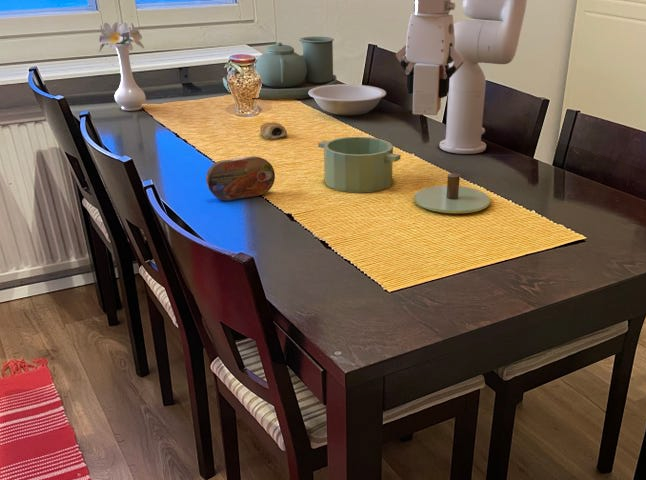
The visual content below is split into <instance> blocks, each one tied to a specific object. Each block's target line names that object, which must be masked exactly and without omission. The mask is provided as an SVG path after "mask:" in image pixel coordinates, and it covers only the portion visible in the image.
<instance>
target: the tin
mask: <svg viewBox="0 0 646 480" xmlns="http://www.w3.org/2000/svg"><path fill="white" fill-rule="evenodd" d="M205 176H206V177H205V182H206V186H207V188H208V190H209V191H210V193H211V194H212V195H213V196H214V198H217V199H219V200H221V201H226V202H227V201H235V200H239V199H247V198H253V197H259V196H263V195H265V194H267V193H268V192H269V191H270V190H271V189H272V187H273V185H274V184H275V180H276V173H275V169H274V167H273V165H272V163H270V161H268V160H267V159H266V158H263V157H260V156H255V155H254V156H246V157H238V158H231V159H224V160H218V161H216V162H215V163H213V164H212V165H211V166H210V167H209V169H208V170H207V172H206V175H205Z"/></svg>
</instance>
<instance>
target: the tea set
mask: <svg viewBox="0 0 646 480" xmlns="http://www.w3.org/2000/svg"><path fill="white" fill-rule="evenodd" d="M298 40H299V42H300V43H301V46H302V54H299V53H297V52H295V48H294V47H293V46H291V45H289V44H288V45H287V44H283V43H282V42H281V41H278V42H277V43H276V44H272V45H268V46H267V47H266V48H265V52H263V53H262V54H261V55H259V56H258V57H259V58H258V59H257V60H256V62H255V68H256V70H257V72H258V73H259V75H260V76H261V79H262V87H261V90H260V93H259V97H258V100H270V101H282V100H283V101H285V100H303V99H310V98H312V97H311V96H310V95H309V94H308V92H309V90H311V89H313V88H316V87H320V86H326V85H337V84H338V79H337V75H336V74H334V51H333V50H334V49H333V48H334V47H333V46H334V45H333V43H334V41H335V39H334V38H333V37H329V36H305V37H298ZM226 64H227V63H225V64H224V67H226ZM222 84H223V85H224V88H225V89H226V90H227V92H228V93H230V91H229V89H228V86H227V80H226V76H224V77H223V78H222ZM230 94H231V93H230Z"/></svg>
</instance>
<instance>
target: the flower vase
mask: <svg viewBox="0 0 646 480" xmlns="http://www.w3.org/2000/svg"><path fill="white" fill-rule="evenodd" d="M99 27H100V34H99V35H98V36H97V37H98V41H99V43H100V45H99V53H100V52H101V51H102V49H103V48H104V46H105V45H106V46H108V45H109V50H110V51H114V50H116V53H117V56H118V60H119V66H120V76H121V77H120V83H119V87H118V88H117V89H116V91H115V94H114V101H115V102H116V104H117V105H119V106H120V107H121V110H122V111H126V112H127V111H129V112H134V111H139V110H142V108H143V106H142V105H144V104H145V102H146V100H147V96H146V93H145V92H144V90H143V89H141V87H139V86H138V84H137V83H136V81H135V78H134V75H133V71H132V68H131V60H130V51H132V50H133V49H134V47H133V44H132V43H134V44H135V45H136V46H139V47H140V48H142V49H145V46H144V44H143V43H142V42H141V40H142V39H143V36H142V34H141V32H140V31H139V30H138V29H136V28H135V25H134V23H133V22H131V23H130V26H129V25H128V24H127V23H126V22H122V24H121V25H120V24H119V23H118V22H117V21H116V22H114V23H113V24H112V27H111V25H110V24H109V23H108V22H104V24H103V27H102V25H101V24H100V25H99ZM103 28H104V29H103Z"/></svg>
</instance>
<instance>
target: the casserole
mask: <svg viewBox="0 0 646 480" xmlns="http://www.w3.org/2000/svg"><path fill="white" fill-rule="evenodd" d="M317 148H321V149H323V158H324V159H323V166H324V181H325V182H324V183H325V184H326V186H328V187H329V188H331V189H333V190H336V191H340V192H346V193H372V192H373V193H374V192H379V191H382V190H385V189H387V188H389V187H390V186H391V185H392V182H393V163H394V162H397V161H401V157H402V155H401V154H399V153H394V144H392V143H391V142H390V141H387V140H384V139H382V138H376V137H371V136H369V137H368V136H346V137H338V138H334V139H330V140H329V141H327V140H323V141H320V142H318V143H317Z"/></svg>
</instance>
